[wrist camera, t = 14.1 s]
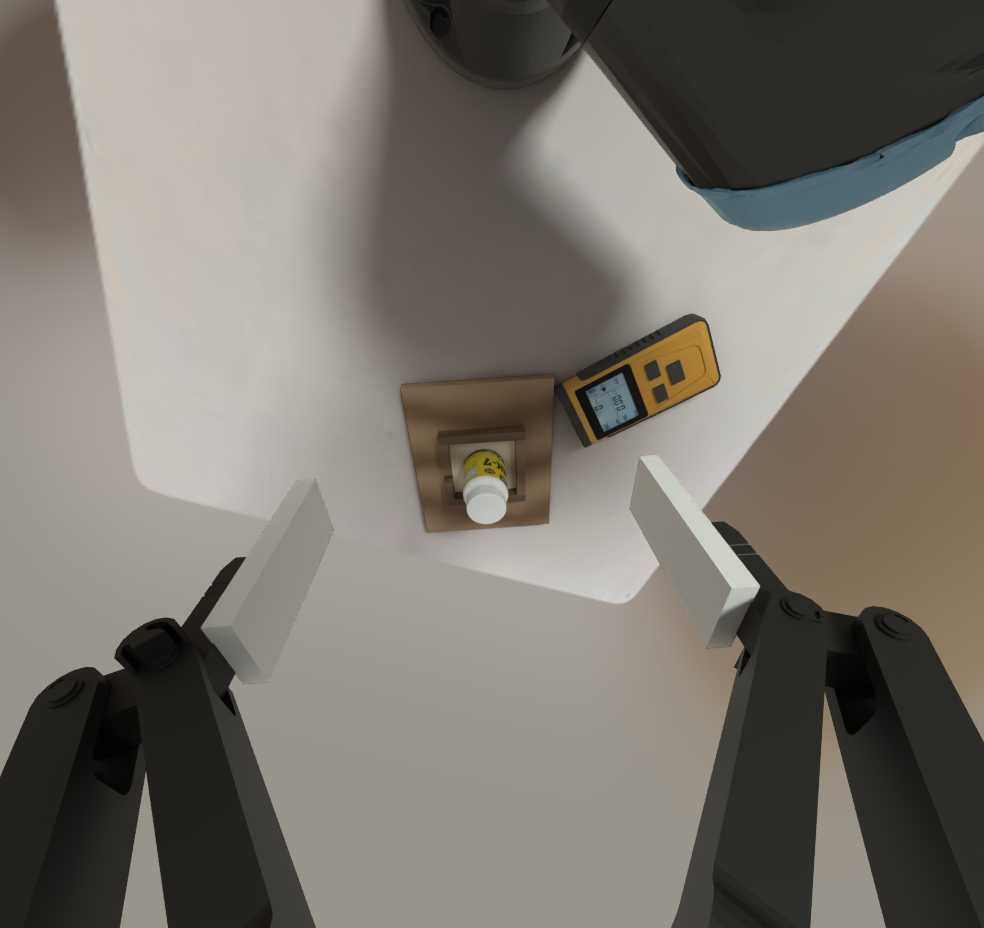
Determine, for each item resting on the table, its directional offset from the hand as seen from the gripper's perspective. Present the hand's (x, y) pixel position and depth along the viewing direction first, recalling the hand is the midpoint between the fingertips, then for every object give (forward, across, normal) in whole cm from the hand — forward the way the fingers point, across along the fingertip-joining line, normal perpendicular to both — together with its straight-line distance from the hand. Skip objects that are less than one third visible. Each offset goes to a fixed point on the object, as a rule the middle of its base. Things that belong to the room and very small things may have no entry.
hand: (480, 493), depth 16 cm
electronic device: (+27, +17, -6) cm, 33 cm away
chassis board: (+27, 0, -15) cm, 31 cm away
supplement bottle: (+26, 0, -15) cm, 30 cm away
